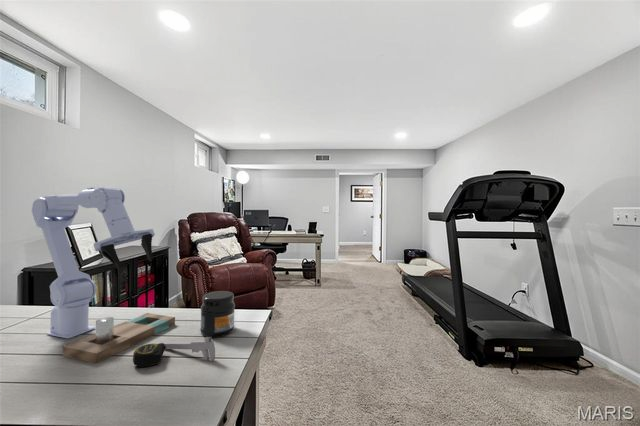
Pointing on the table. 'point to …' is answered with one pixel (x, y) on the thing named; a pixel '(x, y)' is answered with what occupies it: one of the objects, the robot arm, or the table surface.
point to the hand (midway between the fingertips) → (136, 264)
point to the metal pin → (104, 330)
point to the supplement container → (217, 314)
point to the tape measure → (148, 354)
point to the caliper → (195, 347)
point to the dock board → (118, 338)
